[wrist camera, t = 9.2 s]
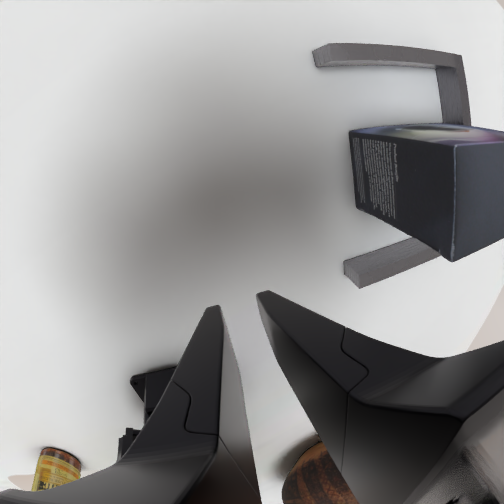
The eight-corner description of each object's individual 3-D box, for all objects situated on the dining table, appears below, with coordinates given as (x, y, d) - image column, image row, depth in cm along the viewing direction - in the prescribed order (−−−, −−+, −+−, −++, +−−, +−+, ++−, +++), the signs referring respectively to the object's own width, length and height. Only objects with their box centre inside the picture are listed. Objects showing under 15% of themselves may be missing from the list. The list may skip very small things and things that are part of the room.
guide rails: (452, 233, 26) (468, 242, 24) (344, 274, 24) (359, 288, 22) (441, 57, 18) (461, 55, 16) (312, 51, 17) (328, 43, 15)
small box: (442, 118, 21) (541, 136, 11) (445, 188, 24) (535, 226, 14) (345, 126, 20) (458, 140, 10) (354, 210, 22) (452, 270, 13)
